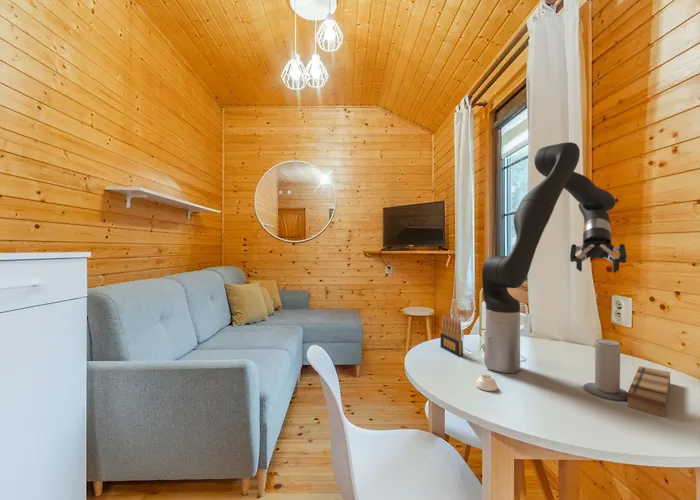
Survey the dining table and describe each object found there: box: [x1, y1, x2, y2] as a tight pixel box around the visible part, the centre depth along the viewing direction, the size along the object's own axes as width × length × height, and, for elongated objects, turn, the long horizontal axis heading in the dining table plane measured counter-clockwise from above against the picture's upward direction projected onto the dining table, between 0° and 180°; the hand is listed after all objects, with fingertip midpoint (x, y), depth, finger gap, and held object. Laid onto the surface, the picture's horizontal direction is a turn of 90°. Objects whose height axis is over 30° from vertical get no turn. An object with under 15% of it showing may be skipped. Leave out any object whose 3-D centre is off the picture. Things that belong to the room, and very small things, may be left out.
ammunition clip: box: [439, 314, 464, 357], centre depth 110 cm, size 11×2×12 cm, turn 17°
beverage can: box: [594, 338, 621, 394], centre depth 79 cm, size 5×5×12 cm
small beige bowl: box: [475, 373, 499, 392], centre depth 82 cm, size 5×3×5 cm
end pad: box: [583, 382, 628, 402], centre depth 79 cm, size 9×9×1 cm
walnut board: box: [626, 365, 671, 417], centre depth 78 cm, size 24×6×3 cm, turn 133°
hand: (597, 270), depth 99 cm, fingers open, 8 cm apart
